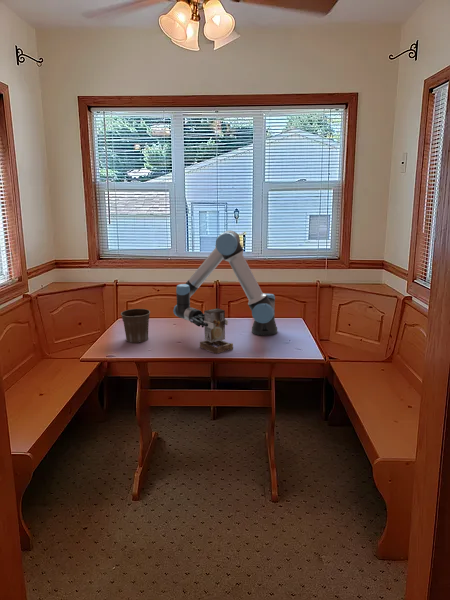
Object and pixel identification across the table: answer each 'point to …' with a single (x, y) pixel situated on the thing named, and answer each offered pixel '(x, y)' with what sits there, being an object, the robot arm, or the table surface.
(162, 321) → the table surface
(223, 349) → the brown open rectangular frame
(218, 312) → the coffee box
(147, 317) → the plant pot
